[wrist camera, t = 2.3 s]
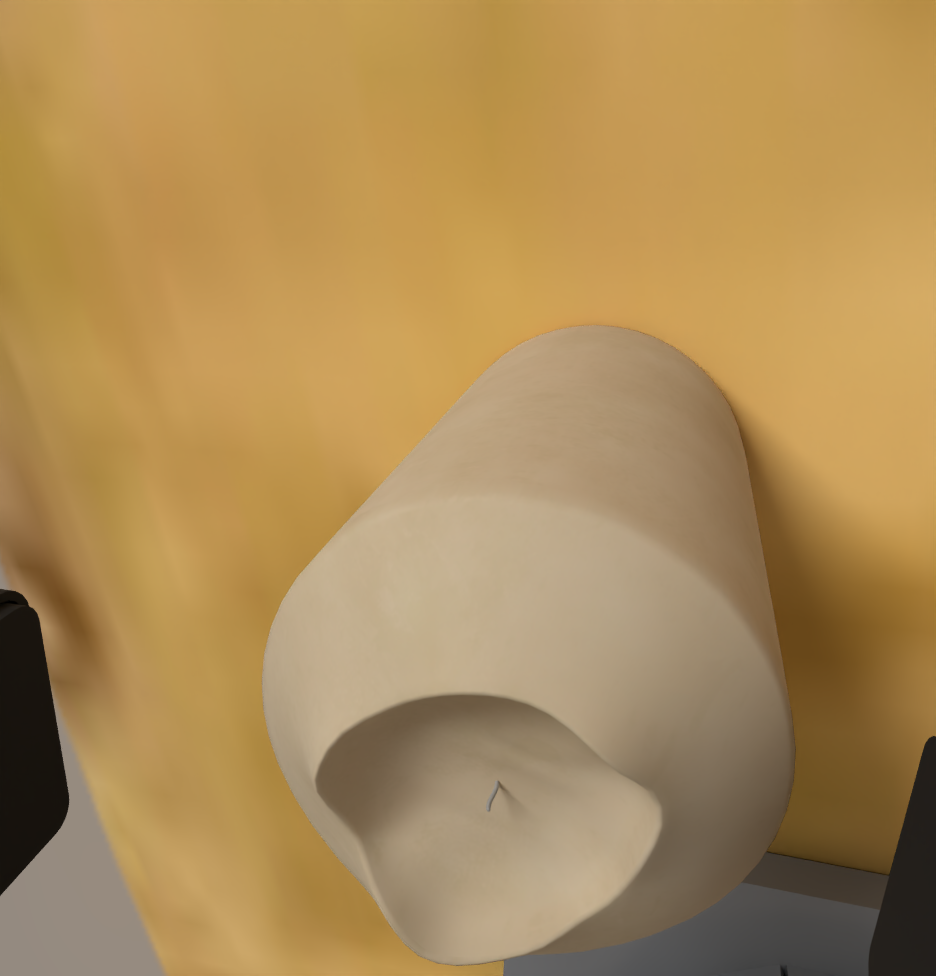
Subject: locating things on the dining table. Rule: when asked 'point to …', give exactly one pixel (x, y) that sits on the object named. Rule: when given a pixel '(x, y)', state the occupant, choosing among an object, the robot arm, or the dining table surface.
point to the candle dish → (749, 930)
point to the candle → (544, 662)
